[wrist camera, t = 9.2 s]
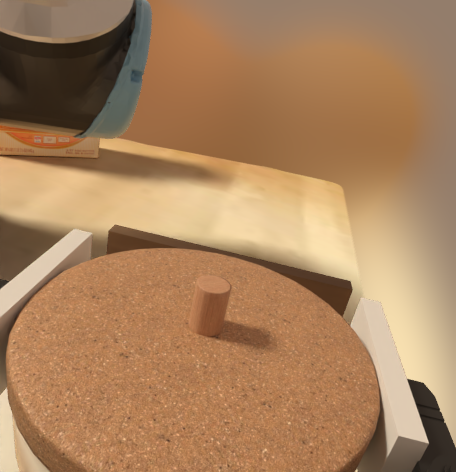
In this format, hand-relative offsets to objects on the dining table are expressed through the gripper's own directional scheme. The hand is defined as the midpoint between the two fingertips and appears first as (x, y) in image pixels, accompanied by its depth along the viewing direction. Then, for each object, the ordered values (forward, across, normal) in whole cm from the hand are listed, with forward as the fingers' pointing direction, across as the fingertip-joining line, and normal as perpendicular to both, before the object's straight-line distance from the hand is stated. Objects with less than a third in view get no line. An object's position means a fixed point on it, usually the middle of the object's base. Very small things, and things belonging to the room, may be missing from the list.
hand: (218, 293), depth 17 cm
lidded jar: (-4, 0, -7) cm, 8 cm away
